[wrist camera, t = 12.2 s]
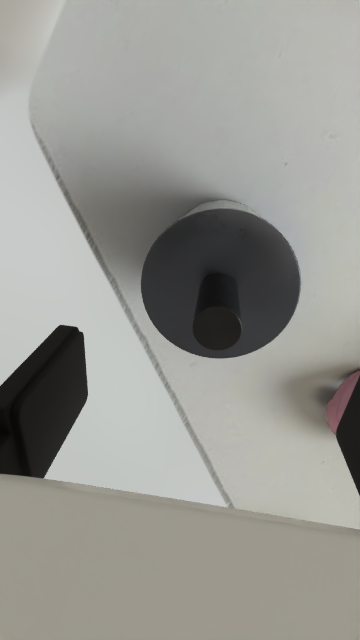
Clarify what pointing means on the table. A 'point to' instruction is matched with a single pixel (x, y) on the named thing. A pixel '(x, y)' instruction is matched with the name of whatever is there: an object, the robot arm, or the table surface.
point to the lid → (220, 283)
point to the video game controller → (340, 401)
